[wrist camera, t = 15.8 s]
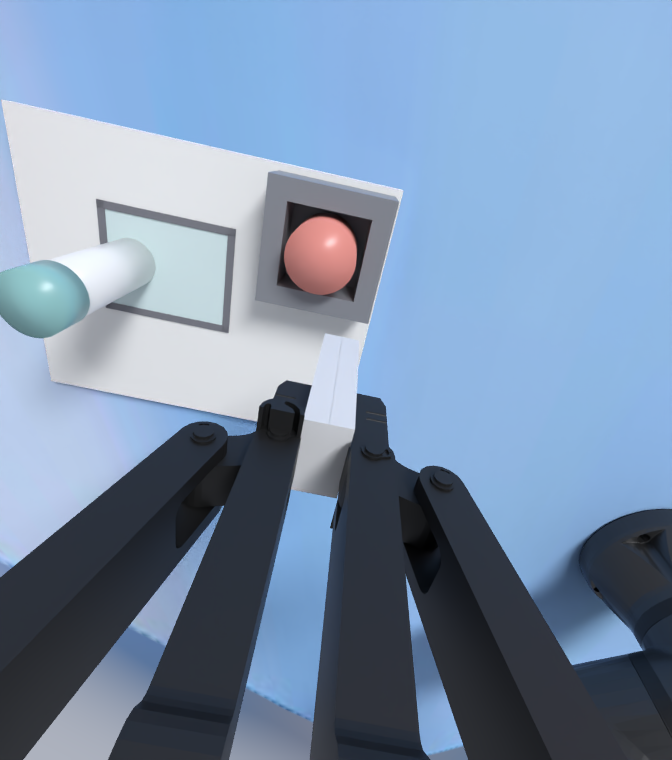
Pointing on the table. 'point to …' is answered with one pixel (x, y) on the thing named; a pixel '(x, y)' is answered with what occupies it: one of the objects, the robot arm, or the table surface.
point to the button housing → (294, 205)
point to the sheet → (167, 262)
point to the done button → (321, 254)
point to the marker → (72, 286)
